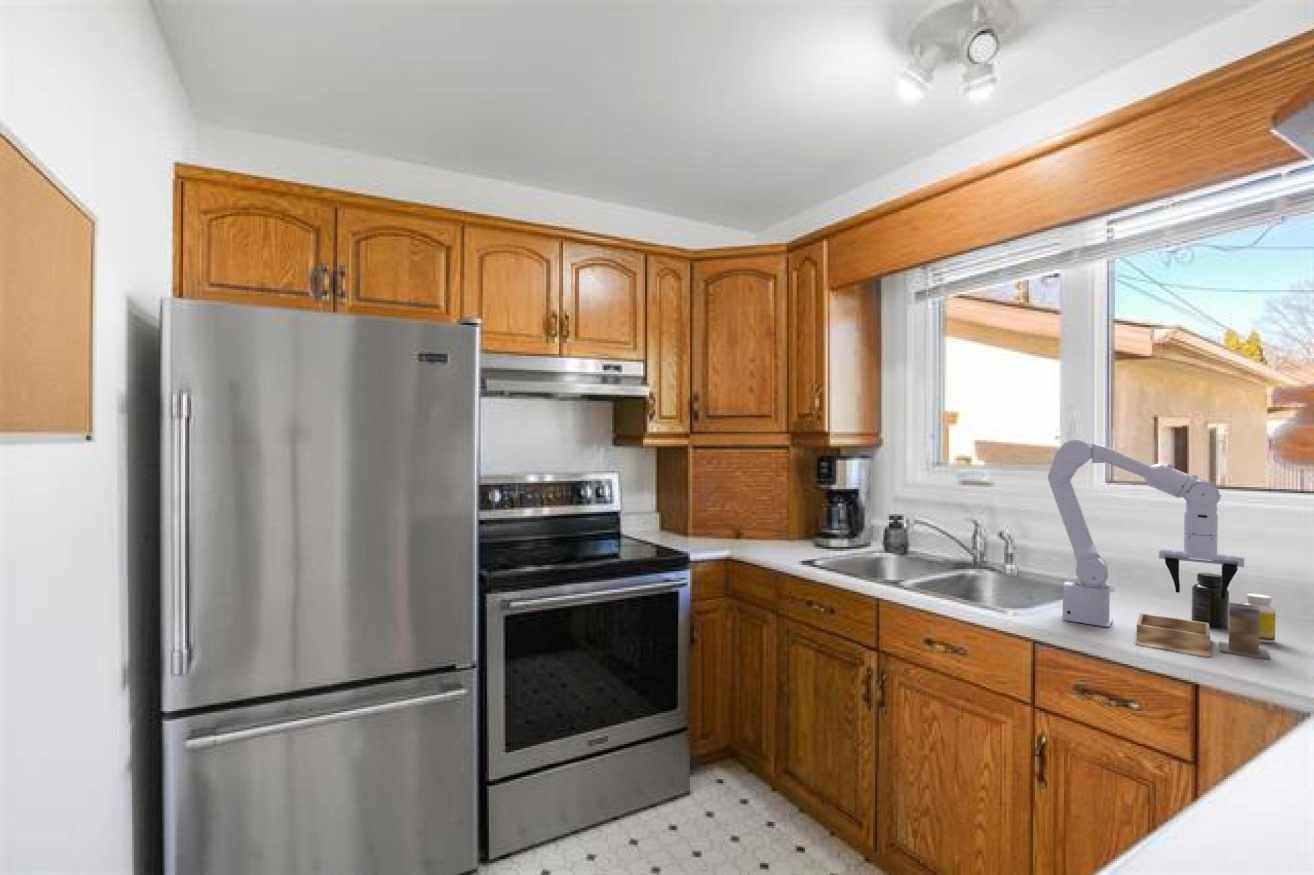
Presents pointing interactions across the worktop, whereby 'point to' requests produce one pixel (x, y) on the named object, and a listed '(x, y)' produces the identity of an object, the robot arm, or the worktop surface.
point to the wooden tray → (1173, 635)
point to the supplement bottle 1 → (1210, 601)
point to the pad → (1262, 652)
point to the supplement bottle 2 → (1264, 616)
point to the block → (1244, 628)
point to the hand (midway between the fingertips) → (1199, 594)
